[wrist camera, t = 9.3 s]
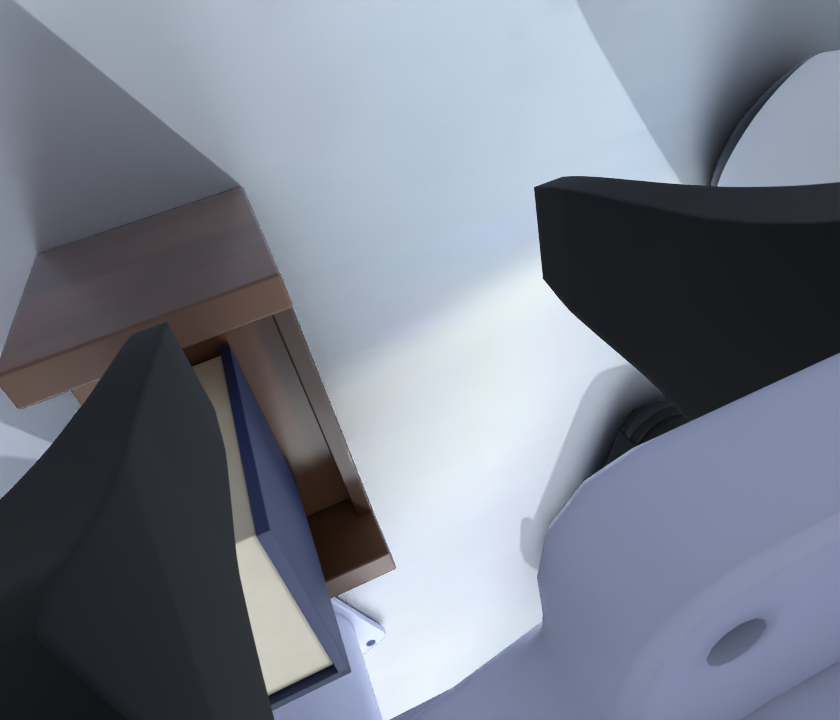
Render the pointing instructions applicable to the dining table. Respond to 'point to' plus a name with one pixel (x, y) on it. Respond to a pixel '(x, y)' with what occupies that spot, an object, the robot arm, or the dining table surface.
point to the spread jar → (789, 131)
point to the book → (273, 545)
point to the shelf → (199, 348)
